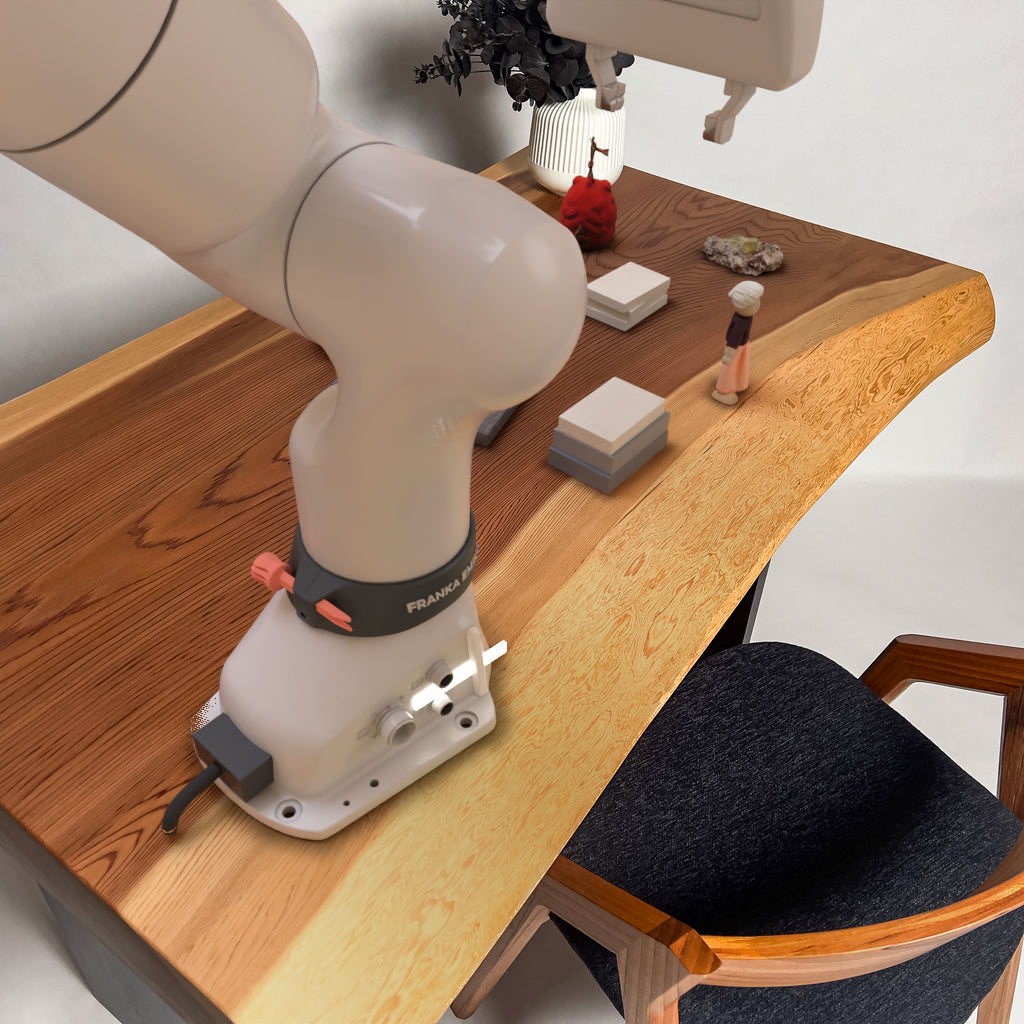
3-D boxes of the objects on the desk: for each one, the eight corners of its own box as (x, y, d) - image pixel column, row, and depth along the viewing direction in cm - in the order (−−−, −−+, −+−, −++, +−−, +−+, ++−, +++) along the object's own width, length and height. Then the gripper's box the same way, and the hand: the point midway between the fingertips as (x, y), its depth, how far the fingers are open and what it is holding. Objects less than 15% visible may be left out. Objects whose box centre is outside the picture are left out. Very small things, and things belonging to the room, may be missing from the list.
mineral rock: (793, 239, 126) (782, 246, 119) (785, 272, 127) (774, 281, 121) (713, 224, 129) (698, 230, 122) (707, 256, 131) (691, 264, 124)
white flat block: (610, 456, 86) (612, 442, 85) (557, 430, 89) (558, 415, 88) (664, 413, 92) (666, 399, 91) (612, 389, 95) (614, 375, 93)
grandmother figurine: (745, 412, 99) (771, 302, 91) (708, 407, 100) (730, 297, 91) (746, 373, 105) (771, 266, 97) (711, 368, 105) (732, 261, 97)
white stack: (624, 333, 111) (628, 305, 108) (578, 314, 114) (580, 286, 111) (670, 302, 116) (674, 275, 114) (625, 285, 120) (628, 258, 117)
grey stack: (607, 495, 88) (611, 461, 86) (547, 464, 92) (549, 430, 89) (665, 446, 94) (671, 413, 92) (607, 418, 98) (611, 385, 95)
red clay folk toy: (617, 236, 130) (630, 123, 120) (608, 258, 125) (620, 142, 115) (562, 228, 131) (570, 116, 121) (551, 250, 126) (558, 135, 116)
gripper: (532, -110, 65) (525, 101, 74) (809, -63, 55) (762, 173, 65) (587, -121, 69) (574, 82, 78) (855, -78, 59) (804, 147, 68)
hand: (661, 124), depth 71 cm, fingers open, 8 cm apart
